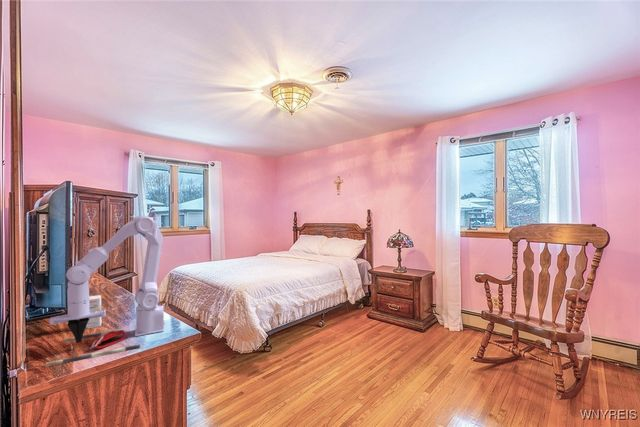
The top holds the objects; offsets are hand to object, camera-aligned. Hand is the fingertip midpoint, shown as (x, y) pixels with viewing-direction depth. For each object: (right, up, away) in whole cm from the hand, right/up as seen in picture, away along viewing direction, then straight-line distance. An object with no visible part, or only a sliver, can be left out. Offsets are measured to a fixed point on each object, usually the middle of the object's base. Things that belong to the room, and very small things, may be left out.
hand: (79, 341), depth 101 cm
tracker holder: (+6, -3, +4) cm, 7 cm away
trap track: (+4, -2, +2) cm, 5 cm away
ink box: (-12, -3, +20) cm, 23 cm away
